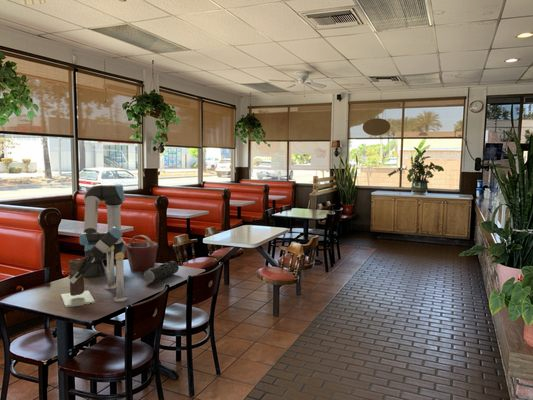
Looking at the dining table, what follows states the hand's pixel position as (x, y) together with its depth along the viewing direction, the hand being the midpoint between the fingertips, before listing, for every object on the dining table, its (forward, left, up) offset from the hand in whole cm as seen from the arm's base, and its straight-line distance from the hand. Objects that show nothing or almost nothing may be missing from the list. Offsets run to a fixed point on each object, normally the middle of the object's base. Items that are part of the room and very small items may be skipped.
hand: (70, 280), depth 239 cm
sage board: (+3, +2, -12) cm, 12 cm away
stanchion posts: (+21, +12, -12) cm, 27 cm away
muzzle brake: (+42, +43, -12) cm, 61 cm away
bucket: (+23, +69, -12) cm, 74 cm away
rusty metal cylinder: (+3, +2, -9) cm, 9 cm away
